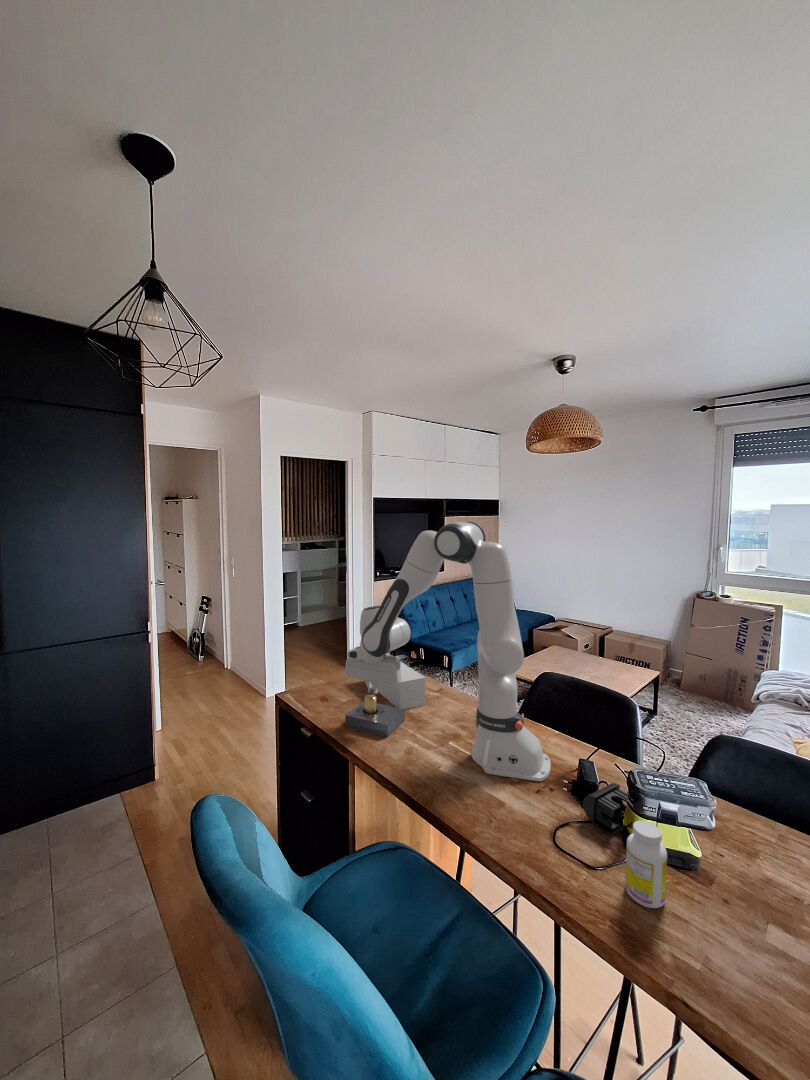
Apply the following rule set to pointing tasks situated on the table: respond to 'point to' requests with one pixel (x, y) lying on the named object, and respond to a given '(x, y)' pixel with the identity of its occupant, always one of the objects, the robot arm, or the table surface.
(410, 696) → the light gray rectangular block
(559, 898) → the table surface
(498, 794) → the table surface
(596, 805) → the end cap
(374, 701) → the peg
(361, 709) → the jig
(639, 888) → the supplement bottle
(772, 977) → the table surface
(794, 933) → the table surface
